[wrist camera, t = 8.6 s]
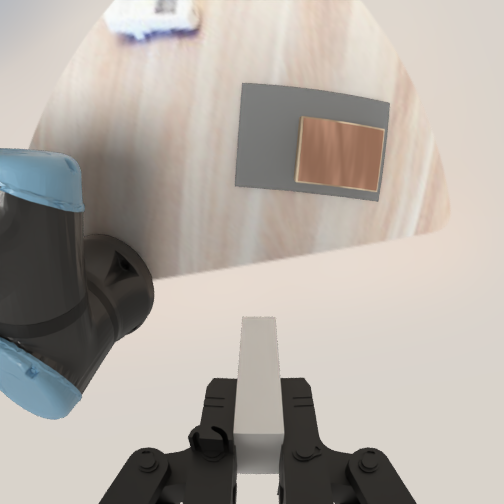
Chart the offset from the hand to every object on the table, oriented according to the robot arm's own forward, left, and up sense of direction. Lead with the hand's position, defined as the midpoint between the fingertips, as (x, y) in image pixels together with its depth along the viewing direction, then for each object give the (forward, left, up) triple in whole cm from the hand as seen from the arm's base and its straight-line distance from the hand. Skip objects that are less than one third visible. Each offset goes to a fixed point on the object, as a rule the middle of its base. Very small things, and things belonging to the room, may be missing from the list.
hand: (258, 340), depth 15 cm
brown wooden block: (+3, +8, -22) cm, 24 cm away
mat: (+5, +9, -24) cm, 26 cm away
